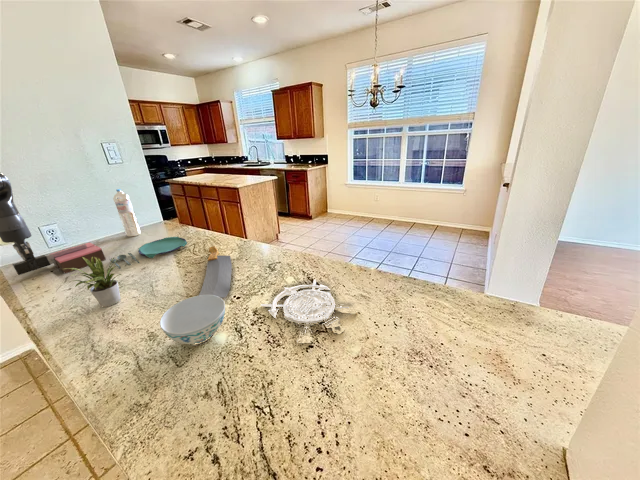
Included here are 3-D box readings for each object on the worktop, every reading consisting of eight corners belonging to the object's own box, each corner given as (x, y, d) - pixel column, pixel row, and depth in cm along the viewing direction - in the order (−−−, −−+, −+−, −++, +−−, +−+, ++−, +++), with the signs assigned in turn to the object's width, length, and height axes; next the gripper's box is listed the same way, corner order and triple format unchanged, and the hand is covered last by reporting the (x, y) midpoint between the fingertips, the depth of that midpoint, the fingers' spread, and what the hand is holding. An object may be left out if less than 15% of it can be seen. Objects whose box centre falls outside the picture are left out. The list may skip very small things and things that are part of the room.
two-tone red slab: (65, 273, 105) (59, 261, 103) (54, 265, 113) (49, 254, 111) (106, 259, 116) (101, 248, 114) (94, 253, 123) (89, 242, 121)
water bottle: (123, 236, 142) (106, 190, 132) (135, 232, 148) (119, 187, 138) (133, 237, 140) (116, 191, 130) (144, 232, 146) (129, 188, 136)
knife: (18, 275, 99) (13, 265, 97) (17, 273, 100) (12, 264, 98) (90, 252, 115) (86, 244, 114) (88, 251, 117) (84, 243, 115)
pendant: (309, 277, 94) (309, 273, 93) (370, 314, 74) (370, 310, 73) (254, 301, 82) (254, 298, 81) (309, 355, 61) (309, 350, 61)
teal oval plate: (194, 247, 124) (193, 242, 123) (119, 272, 104) (117, 267, 103) (177, 237, 136) (176, 233, 135) (107, 259, 116) (105, 254, 115)
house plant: (69, 310, 82) (45, 264, 76) (116, 286, 94) (98, 245, 88) (95, 320, 77) (72, 272, 70) (141, 294, 88) (125, 251, 82)
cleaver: (233, 248, 119) (231, 300, 84) (209, 252, 117) (197, 307, 82) (231, 242, 118) (229, 291, 83) (207, 245, 115) (195, 298, 80)
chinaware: (170, 327, 73) (163, 304, 70) (227, 311, 78) (222, 289, 75) (165, 368, 60) (156, 342, 57) (233, 345, 65) (227, 320, 62)
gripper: (-7, 227, 97) (16, 268, 104) (-1, 233, 89) (24, 277, 96) (21, 221, 102) (42, 260, 109) (30, 226, 95) (52, 268, 102)
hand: (34, 268), depth 103 cm, fingers closed on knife, 2 cm apart
